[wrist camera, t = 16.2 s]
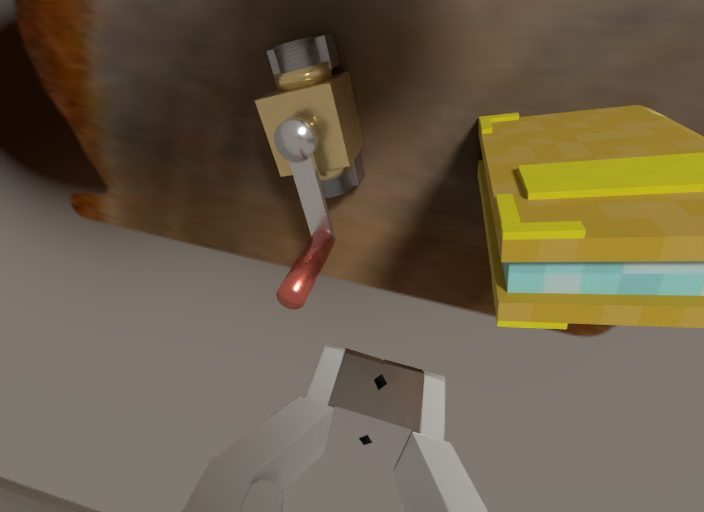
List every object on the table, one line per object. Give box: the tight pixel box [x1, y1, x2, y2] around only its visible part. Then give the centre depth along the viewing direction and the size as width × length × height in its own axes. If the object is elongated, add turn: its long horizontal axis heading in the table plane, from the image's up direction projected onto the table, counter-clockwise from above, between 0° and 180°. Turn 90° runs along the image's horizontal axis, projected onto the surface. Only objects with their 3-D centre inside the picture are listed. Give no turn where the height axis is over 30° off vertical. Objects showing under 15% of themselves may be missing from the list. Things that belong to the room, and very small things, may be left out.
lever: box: [274, 117, 336, 309], centre depth 34 cm, size 14×4×11 cm, turn 12°
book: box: [478, 105, 704, 329], centre depth 29 cm, size 17×7×25 cm, turn 99°
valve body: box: [255, 33, 365, 198], centre depth 40 cm, size 16×8×9 cm, turn 13°
